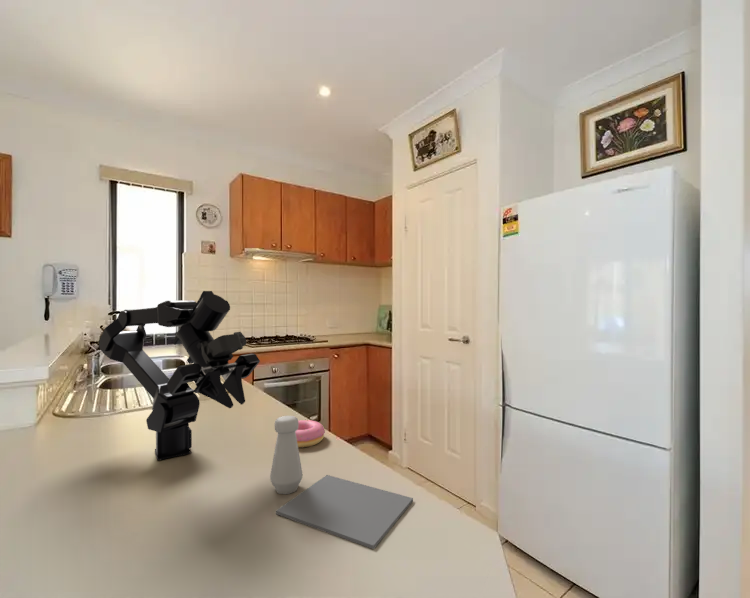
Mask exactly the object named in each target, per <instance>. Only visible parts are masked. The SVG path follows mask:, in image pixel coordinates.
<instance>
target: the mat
mask: <svg viewBox="0 0 750 598" xmlns="http://www.w3.org/2000/svg"><path fill="white" fill-rule="evenodd" d="M413 502H414V497H410V496H407V495H402V494H399V493H395V492H392V491H388V490H386V489H385V490H384V489H382V488H381V489H380V488H377V487H374V486H370V485H366V484H362V483H359V482H354V481H351V480H348V479H345V478H340V477H336V476H333V475H330V474H326V475H324V476H323V477H322V478H320V479H319V480H318V481H316V482H315V483H313V484H312V485H310V486H309V487H308V488H306V489H305V490H303V491H302V492H300V493H298V495H296V496H294V497H293V498H292V499H290V500H289V501H288V502H286V503H284V504H283V505H282V506H280V507H278V508H277V509H276V510H275V514H276V515H278V516H281V517H284V518H285V519H288V520H289V519H290V520H292V521H295V522H297V523H300V524H302V525H306V526H308V527H311V528H314V529H316V530H320V531H323V532H325V533H328V534H330V535H333V536H336V537H339V538H342V539H344V540H348V541H350V542H352V543H355V544H357V545H361V546H364V547H366V548H369V549H371V550H374V549H376V547H377V546H378V545H379V543H380V542H381V541H382V540H383V538H384V537H385V536H386V535H387V534H388V533H389V531H390V530H391V529H392V528H393V527H394V525H395V524H396V522H398V520H399V519H400V517H401V516H402V515H403V514H404V513H405V512H406V511H407V509H408V508H409V507H410V506H411V504H412V503H413Z"/></svg>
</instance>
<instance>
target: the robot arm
mask: <svg viewBox="0 0 750 598" xmlns="http://www.w3.org/2000/svg"><path fill="white" fill-rule="evenodd" d="M230 310H231V306H230V303H229V302H228V301H227V300H226V299H224V298H223V297H222V296H220V295H218V294H215V293H214V292H213V291H212V290H202V293H201V294H200V296H199V299H198V300H197V301H195V300H189V299H188V300H187V299H186V300H165V301H163V302H160V303H158V304H157V306H155V307H149V308H148V307H147V308H140V309H139V308H137V309H136V308H134V309H124V310H121V311H120V312H119V314H118V315H117V318H116V319H115V320H113V321H112V322H111V323H109V324H108V325H107V326H106V327H105V328H104V330H103V332H102V334H101V336H100V338H99V341H98V347H99V350H100V351H101V352H102V354H103V355H105V356H106V357H107V358H108V359H109V360H111V361H113V362H118V363H121V364H123V365H124V366H125V367H126V368H127V370H128V371H129V372H130V373H131V374H132V375H133V377H135V378H136V380H137V381H138V382H139V383H140V385H141V387H143V388H144V389H145V391H146V392H147V393H148V394H149V395H150V396H151V398H152V407H151V408H152V409H151V410H152V411H151V413H150V414H149V415H148V417H147V418H146V420H145V421H146V426H147V429H148V430H149V431H153V432H155V448H154V453H155V457H156V459H157V461H163V460H166V459H167V460H168V459H171V458H176V457H179V456H184V455H189V454H191V452H192V451H191V449H192V445H193V443H192V442H193V441H192V433H193V432H192V429H191V427H190V426H189V425H190V424H189V423H194V422H197V417H198V413H199V409H200V405H201V404H200V399H199V397H198V395H197V394H200V395H203V396H205V397H207V398H209V399H211V400H213V401H215V402H217V403H219V404H221V405H223V406H225V408H226V407H227V408H228V409H232V408H233V407H234V402H233V400H232V397H233V399H234V400H235V401H236V402H238V403H239V404H240V405H244V404H245V402H246V398H245V393H244V386H243V380H244V379H246V378H248V377H249V376H250V375H251V374H252V372H253V371H254V370H255V369H256V368H257V366H258V365H259V364H260V363H261V361H260V359H259V357H258V356H257V354H256V353H247V354H241V355H240V354H239V355H238V357H237V358H236V359H235V361H234V362H232V363H229V361H231V360H232V359H233V358H234V355H233V354H234V353H236V352H237V351H241V350H243V348H244V347H245V346H246V345H247V339H246V336H245V335H244V334H243V332H241V331H234V332H233V333H232V334H224V335H220V336H218V337H216V338H215V339H214V337H213V335H212V334H211V333H210V332H213V331H215V330H217V329H218V327H219V326H220V324H221V323H222V321H223V320H225V318H226V316H227V314H228V313H229V312H230ZM149 324H150V325H151V324H158V326H161V327H164V328H176V327H179V329H178V331H176V332H175V336H174V338H173V341H172V342H173V345H182V346H183V348H184V349H185V351H186V352H187V355H188V358H187V359H186V362H187V363H188V364H182V365H178V366H177V367H176V369H175V371H174V372H173V373H172V375H171V376H170V378H169V377H168V376H167V375H166V374H165V372H164V371H163V370H162V369H161V368H160V366H158V365H157V363H155V362H154V360H153V359H152V358H151V357H150V356H149V355H148V354H147V353H146V352H145V350H143V348H144V342H145V338H146V337H147V332H146V329H145V327H146V325H149ZM133 326H134V327H135V326H136V327H137V328H136V330H126V328H127V327H133ZM221 377H222V378H223V380H224V382H222V380H221V379H222V378H221ZM191 382H194V384H195V388H194V389H193V388H192V387H191V386H190V385H189V383H191ZM229 394H230V395H229ZM231 396H232V397H231Z"/></svg>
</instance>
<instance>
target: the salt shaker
mask: <svg viewBox="0 0 750 598" xmlns="http://www.w3.org/2000/svg"><path fill="white" fill-rule="evenodd" d="M298 421H299V419H298V417H297V416H294V415H283V416H278V417H277V418H276V419H275V420H274V431H275V432H276V433H277V435H276V441H275V442H276V443H275V447H274V453H273V459H272V464H271V470H270V476H269V478H270V479H269V480H270V482H271V484H272V486H273V487H274V489H275V491H276V493H277V494H280V495H289V494H291V493H294V492H297V491H298V487H299V485H300V483H301V482H302V479H303V470H302V469H303V468H302V463H301V456H300V450H299V448H298V444H297V438H296V432H295V431H297V430H298V425H299V423H298Z"/></svg>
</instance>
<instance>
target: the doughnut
mask: <svg viewBox="0 0 750 598" xmlns="http://www.w3.org/2000/svg"><path fill="white" fill-rule="evenodd" d="M298 423H299V425H298V430H297V431H295V432H296V438H297V444H298V449H299V447H302V448H308V447H313V446H315V445H318V444H319V443H320V442H321V441H322V440H323V438H324V437H325V433H326V430H325V426H324V425H323V424H322V423H320V422H319V421H317V420H311V419H310V420H309V419H301V420H300V419H298Z"/></svg>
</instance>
